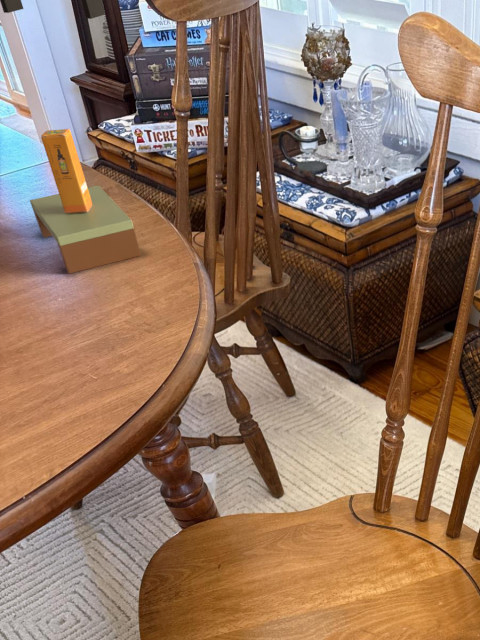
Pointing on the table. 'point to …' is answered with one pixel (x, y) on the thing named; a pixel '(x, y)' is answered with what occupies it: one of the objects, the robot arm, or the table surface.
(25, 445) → the table surface
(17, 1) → the robot arm
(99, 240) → the shelf
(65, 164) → the supplement box
